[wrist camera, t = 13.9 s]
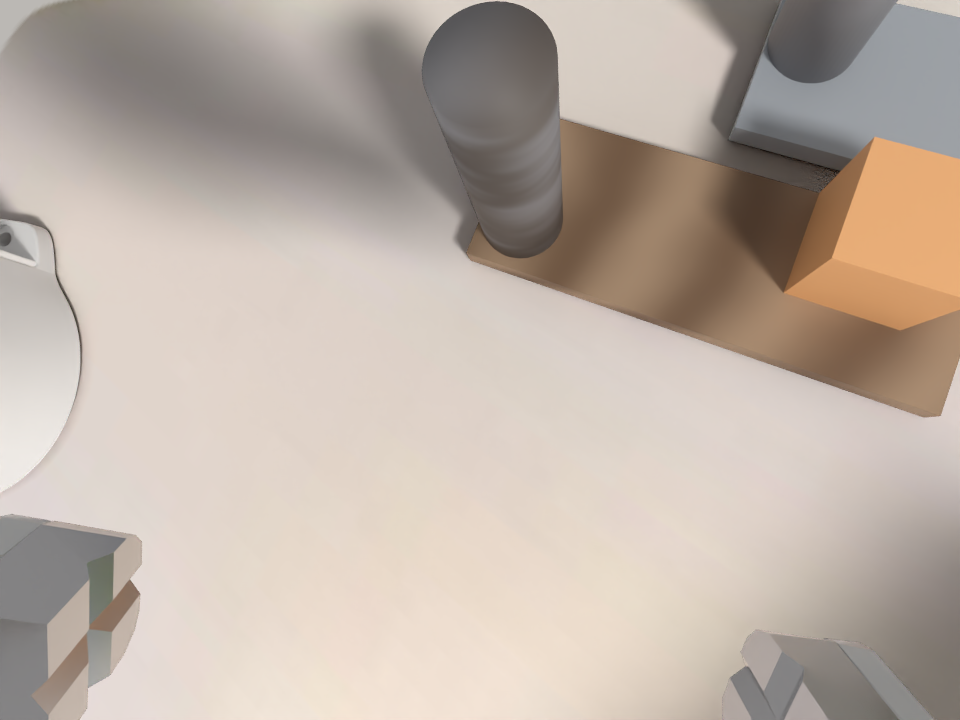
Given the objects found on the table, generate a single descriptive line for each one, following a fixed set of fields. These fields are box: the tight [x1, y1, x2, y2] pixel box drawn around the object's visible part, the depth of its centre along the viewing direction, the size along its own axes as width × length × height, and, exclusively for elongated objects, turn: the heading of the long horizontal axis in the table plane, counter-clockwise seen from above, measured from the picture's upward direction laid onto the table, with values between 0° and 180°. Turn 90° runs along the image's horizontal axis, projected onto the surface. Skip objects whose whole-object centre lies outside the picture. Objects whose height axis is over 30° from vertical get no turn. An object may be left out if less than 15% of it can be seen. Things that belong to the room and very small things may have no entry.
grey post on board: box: [422, 1, 960, 417], centre depth 22 cm, size 22×8×13 cm, turn 68°
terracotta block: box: [784, 137, 960, 330], centre depth 24 cm, size 5×5×5 cm
